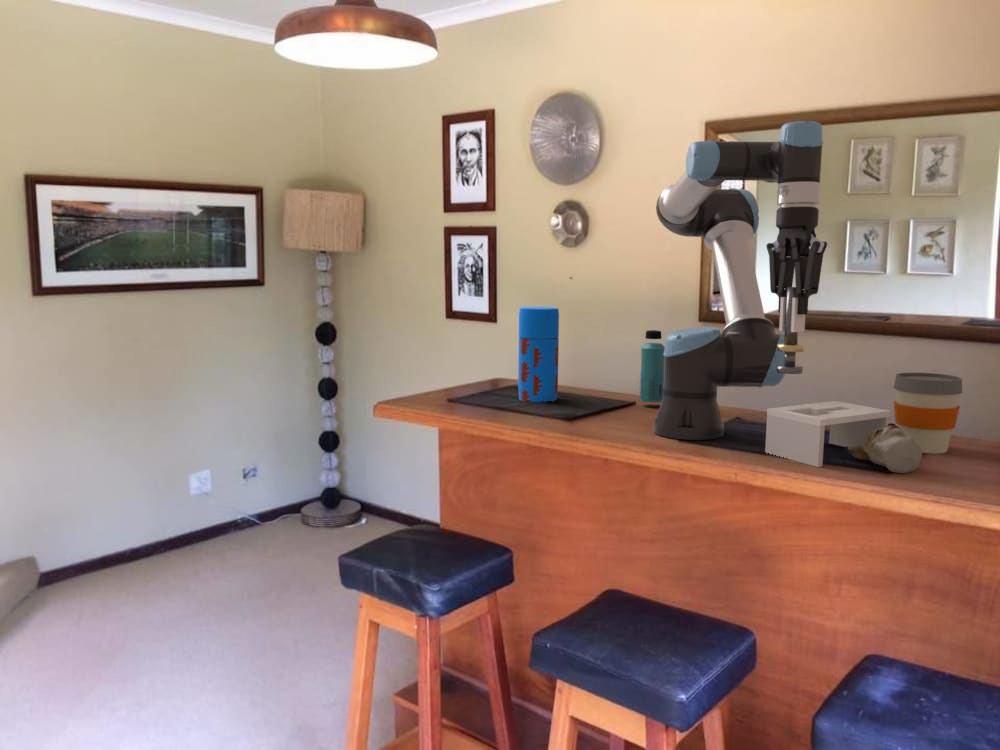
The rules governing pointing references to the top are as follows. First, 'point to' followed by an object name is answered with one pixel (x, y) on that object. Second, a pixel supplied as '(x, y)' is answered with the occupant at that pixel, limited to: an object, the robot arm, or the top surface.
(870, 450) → the ceramic sculpture
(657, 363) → the beverage bottle
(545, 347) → the thermos
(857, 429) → the keyhole bracket
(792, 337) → the peg with gold collar
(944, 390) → the reusable coffee cup
